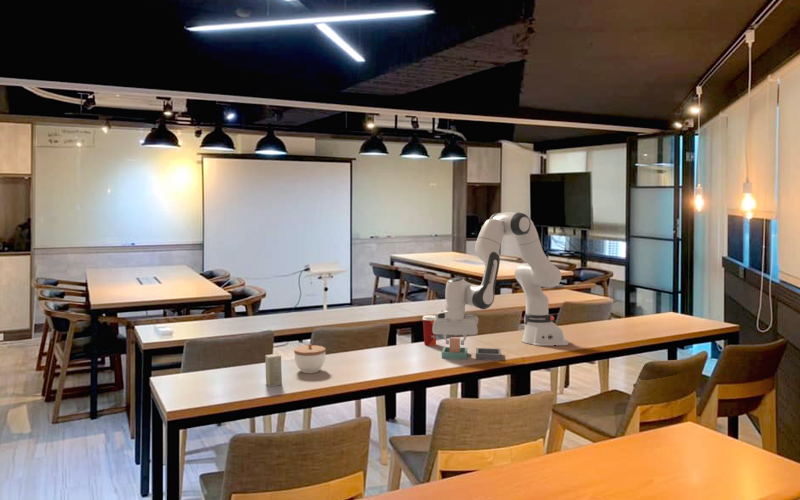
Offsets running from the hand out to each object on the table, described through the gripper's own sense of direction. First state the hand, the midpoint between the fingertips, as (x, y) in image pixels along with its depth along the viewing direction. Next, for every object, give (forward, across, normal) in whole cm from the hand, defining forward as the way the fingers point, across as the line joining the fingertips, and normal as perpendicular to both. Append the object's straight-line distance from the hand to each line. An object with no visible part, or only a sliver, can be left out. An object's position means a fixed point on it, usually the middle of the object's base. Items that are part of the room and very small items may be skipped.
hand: (454, 344), depth 260 cm
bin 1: (+5, 0, 0) cm, 5 cm away
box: (+5, +65, +54) cm, 85 cm away
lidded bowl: (+5, +57, +34) cm, 67 cm away
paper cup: (+5, +13, -20) cm, 24 cm away
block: (+5, 0, 0) cm, 5 cm away
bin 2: (+5, -15, 0) cm, 16 cm away
